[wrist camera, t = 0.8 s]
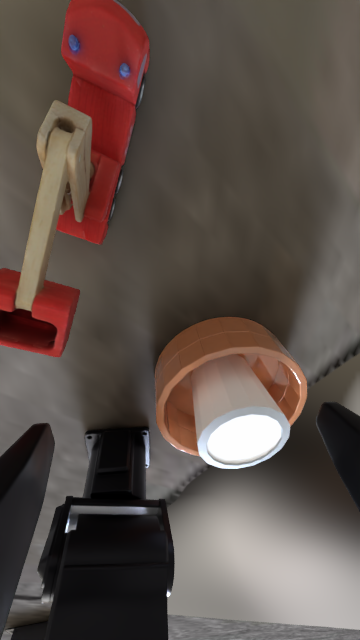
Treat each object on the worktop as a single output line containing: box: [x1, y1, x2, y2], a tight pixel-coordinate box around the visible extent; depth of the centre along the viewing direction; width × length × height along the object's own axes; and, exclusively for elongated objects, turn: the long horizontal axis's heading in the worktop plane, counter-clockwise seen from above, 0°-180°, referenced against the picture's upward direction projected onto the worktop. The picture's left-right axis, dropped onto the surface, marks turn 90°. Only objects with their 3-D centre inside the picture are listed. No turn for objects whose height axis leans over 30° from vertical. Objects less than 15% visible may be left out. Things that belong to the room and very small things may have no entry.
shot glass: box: [191, 354, 290, 469], centre depth 22 cm, size 7×7×7 cm
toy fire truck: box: [0, 0, 150, 357], centre depth 12 cm, size 3×14×10 cm, turn 158°
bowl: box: [155, 317, 307, 456], centre depth 23 cm, size 12×12×4 cm
